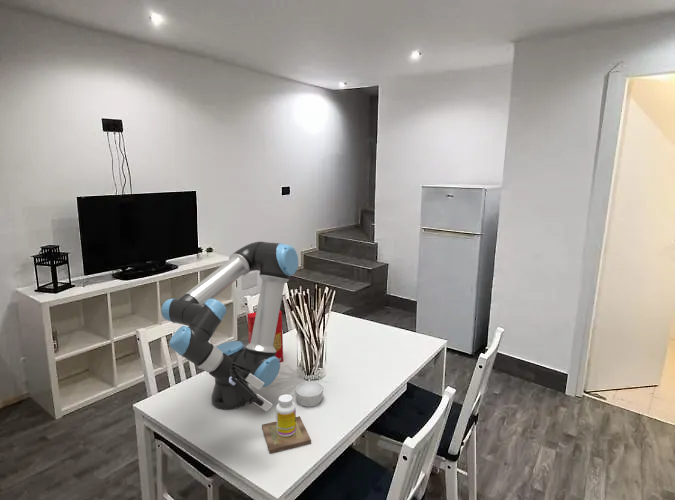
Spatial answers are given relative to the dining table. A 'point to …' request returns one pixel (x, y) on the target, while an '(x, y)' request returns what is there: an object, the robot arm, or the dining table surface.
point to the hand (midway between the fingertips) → (265, 396)
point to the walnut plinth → (284, 443)
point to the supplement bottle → (286, 416)
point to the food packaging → (278, 335)
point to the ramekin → (309, 393)
